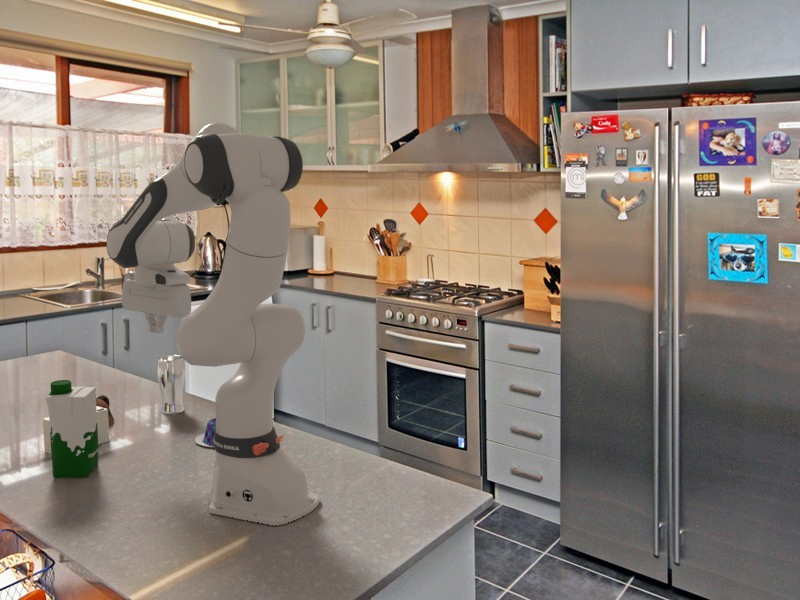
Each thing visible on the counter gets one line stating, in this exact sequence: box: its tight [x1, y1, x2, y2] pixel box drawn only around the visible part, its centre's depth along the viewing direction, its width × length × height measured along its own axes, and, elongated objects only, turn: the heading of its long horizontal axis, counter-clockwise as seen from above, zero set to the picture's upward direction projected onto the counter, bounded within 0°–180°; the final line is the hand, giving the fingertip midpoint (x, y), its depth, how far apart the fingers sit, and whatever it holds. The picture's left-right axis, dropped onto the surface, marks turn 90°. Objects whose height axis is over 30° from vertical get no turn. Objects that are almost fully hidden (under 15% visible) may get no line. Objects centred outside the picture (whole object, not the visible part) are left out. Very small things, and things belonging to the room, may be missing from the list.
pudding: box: [194, 417, 216, 448], centre depth 182 cm, size 12×12×5 cm
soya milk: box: [45, 379, 99, 479], centre depth 159 cm, size 9×9×20 cm
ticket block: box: [42, 406, 110, 455], centre depth 175 cm, size 6×13×8 cm, turn 149°
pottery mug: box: [96, 394, 115, 426], centre depth 193 cm, size 12×10×8 cm
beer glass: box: [157, 354, 186, 415], centre depth 202 cm, size 7×7×15 cm
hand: (156, 332), depth 176 cm, fingers closed
